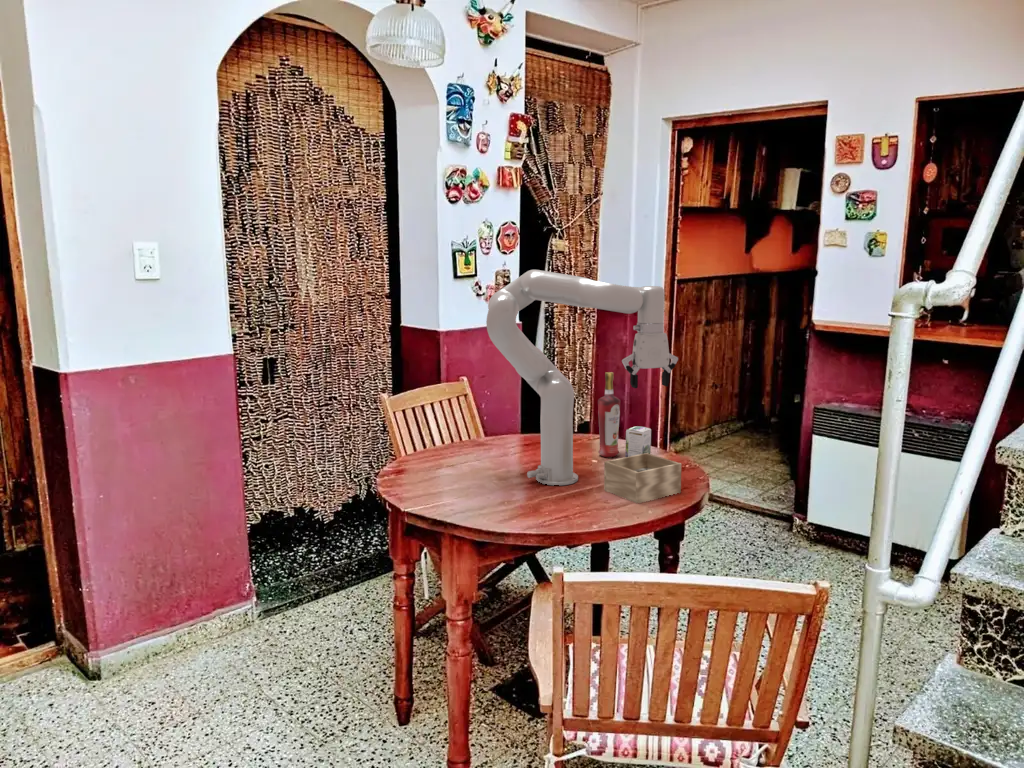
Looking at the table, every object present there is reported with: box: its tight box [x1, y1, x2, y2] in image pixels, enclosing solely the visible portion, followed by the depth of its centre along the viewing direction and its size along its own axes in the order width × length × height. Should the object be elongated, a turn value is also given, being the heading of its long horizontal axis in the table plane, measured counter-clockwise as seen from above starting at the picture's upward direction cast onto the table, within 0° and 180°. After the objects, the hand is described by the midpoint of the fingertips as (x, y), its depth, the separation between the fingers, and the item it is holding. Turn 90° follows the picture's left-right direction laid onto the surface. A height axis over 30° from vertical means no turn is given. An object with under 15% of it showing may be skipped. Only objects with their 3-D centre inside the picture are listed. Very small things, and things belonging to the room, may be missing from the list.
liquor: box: [597, 371, 621, 458], centre depth 246 cm, size 7×7×28 cm
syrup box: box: [624, 425, 652, 458], centre depth 225 cm, size 6×6×14 cm
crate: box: [603, 453, 682, 504], centre depth 209 cm, size 16×14×8 cm
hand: (649, 386), depth 220 cm, fingers open, 9 cm apart
